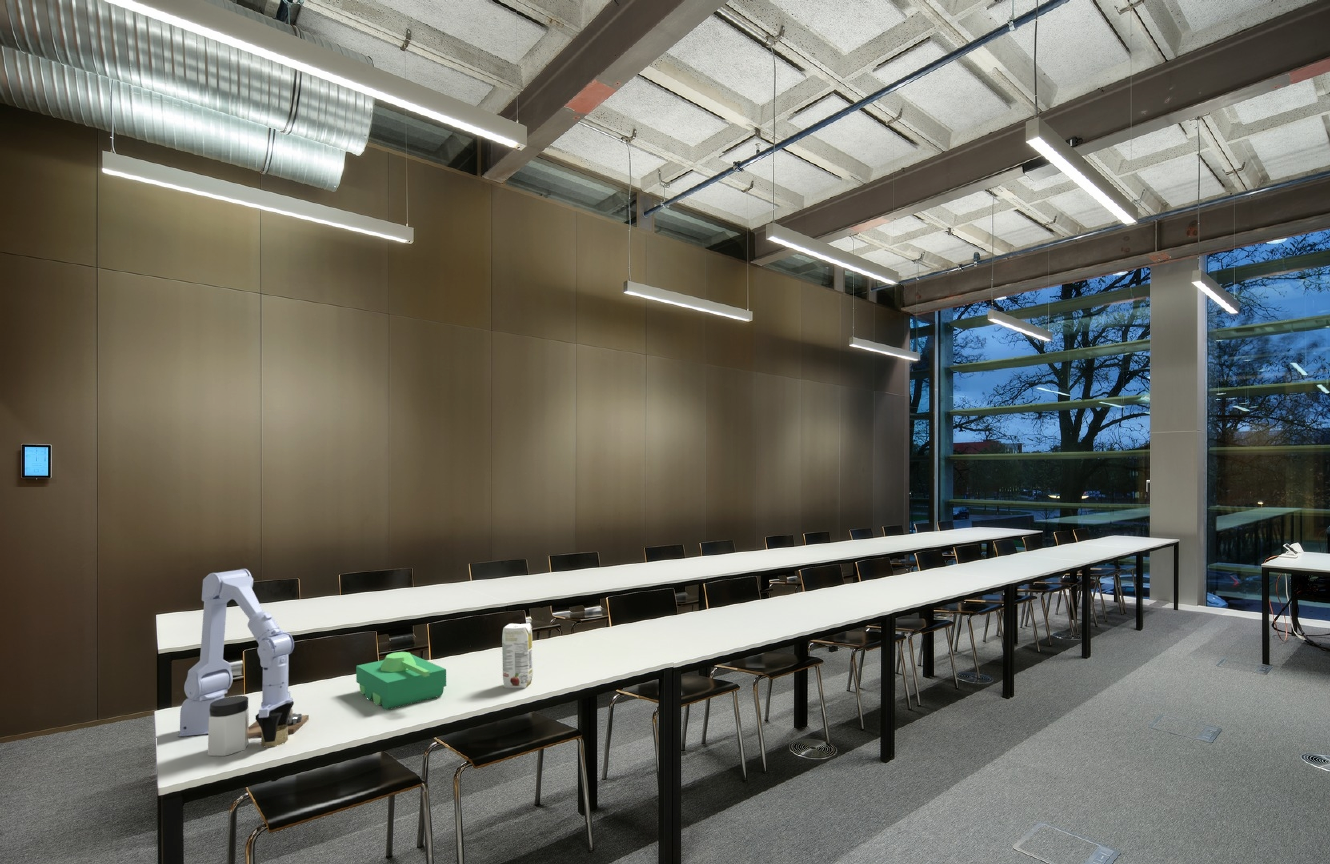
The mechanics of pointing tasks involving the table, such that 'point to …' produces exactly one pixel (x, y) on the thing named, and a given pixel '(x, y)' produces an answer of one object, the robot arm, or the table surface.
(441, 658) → the table surface
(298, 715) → the gear
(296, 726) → the gear board
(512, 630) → the juice carton
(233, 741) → the jar
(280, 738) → the gear ring
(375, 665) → the toy tank
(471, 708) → the table surface
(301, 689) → the table surface
